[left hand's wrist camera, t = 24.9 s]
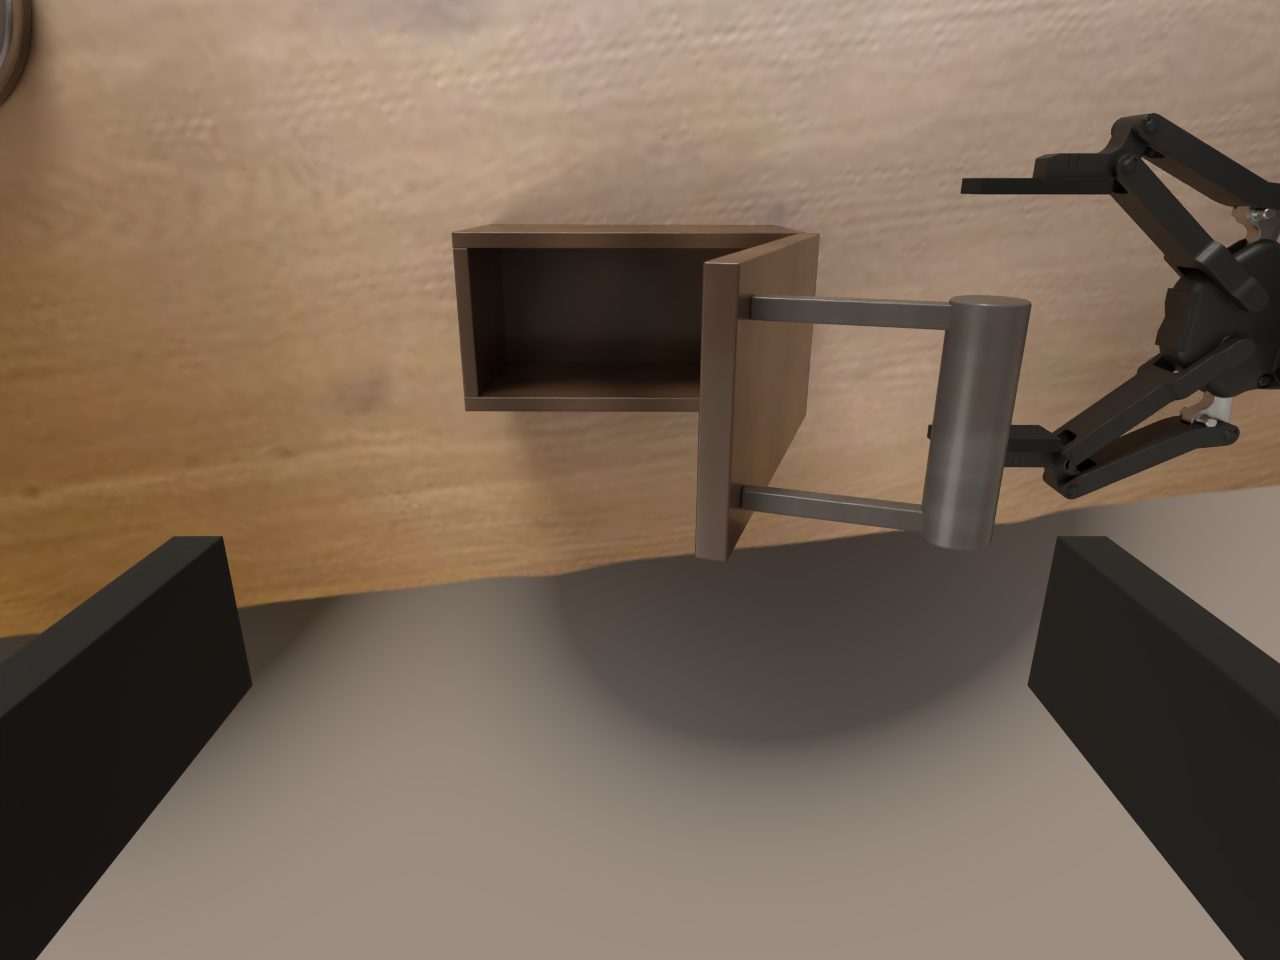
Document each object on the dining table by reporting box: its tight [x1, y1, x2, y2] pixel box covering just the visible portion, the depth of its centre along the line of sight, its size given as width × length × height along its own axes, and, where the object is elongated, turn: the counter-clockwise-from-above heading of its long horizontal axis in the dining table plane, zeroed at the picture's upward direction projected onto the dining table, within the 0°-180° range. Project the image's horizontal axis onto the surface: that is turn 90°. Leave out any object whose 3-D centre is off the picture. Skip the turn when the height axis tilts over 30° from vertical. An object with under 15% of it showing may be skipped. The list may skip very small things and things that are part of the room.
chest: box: [452, 225, 805, 412], centre depth 45 cm, size 18×9×10 cm, turn 90°
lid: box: [695, 233, 1031, 562], centre depth 30 cm, size 18×9×9 cm
